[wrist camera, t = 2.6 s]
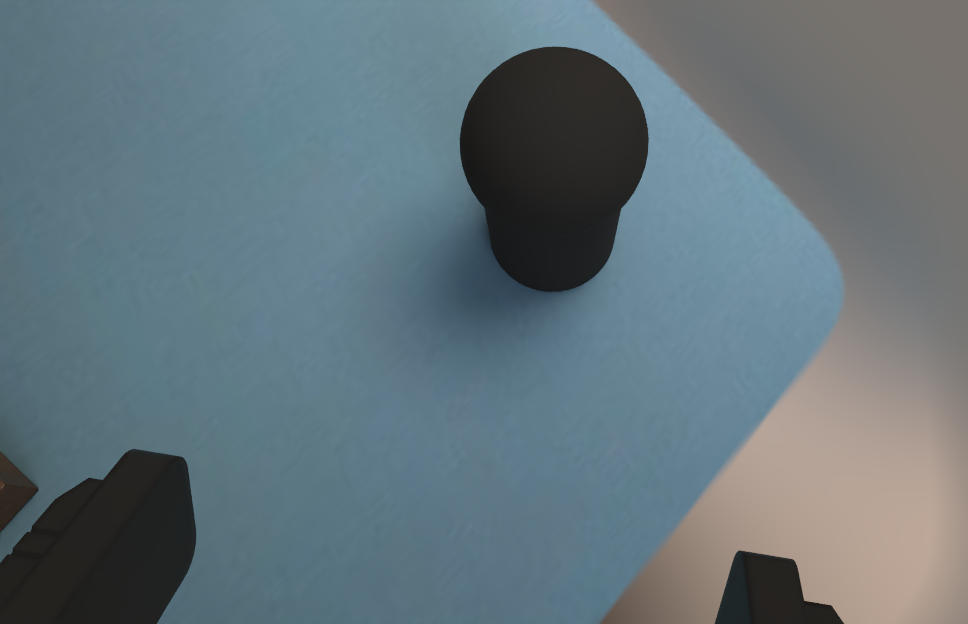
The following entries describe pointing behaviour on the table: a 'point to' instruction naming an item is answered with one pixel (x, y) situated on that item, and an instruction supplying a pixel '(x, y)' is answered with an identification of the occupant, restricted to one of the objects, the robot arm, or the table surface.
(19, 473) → the display base
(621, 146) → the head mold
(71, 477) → the table surface
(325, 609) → the table surface
